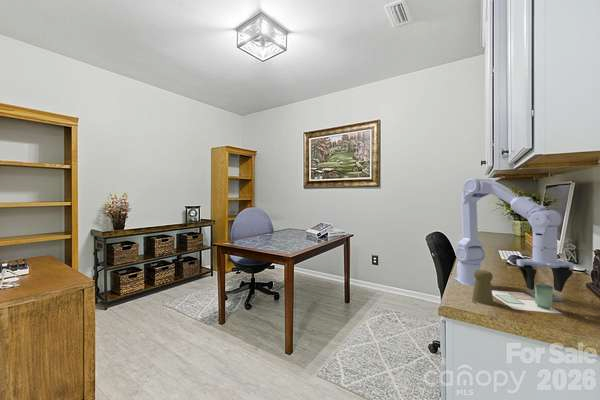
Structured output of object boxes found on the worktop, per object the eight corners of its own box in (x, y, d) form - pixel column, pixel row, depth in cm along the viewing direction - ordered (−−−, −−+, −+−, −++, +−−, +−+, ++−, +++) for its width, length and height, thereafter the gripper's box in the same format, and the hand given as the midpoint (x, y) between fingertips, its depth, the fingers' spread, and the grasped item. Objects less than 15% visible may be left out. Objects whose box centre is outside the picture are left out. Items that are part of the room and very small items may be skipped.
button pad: (525, 294, 95) (525, 289, 95) (547, 295, 94) (547, 290, 94) (539, 301, 88) (539, 295, 88) (563, 303, 87) (563, 297, 87)
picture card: (484, 291, 98) (484, 289, 98) (523, 294, 95) (523, 292, 95) (513, 310, 80) (513, 308, 80) (562, 315, 77) (562, 313, 77)
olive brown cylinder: (484, 307, 82) (484, 273, 82) (467, 300, 88) (468, 268, 88) (498, 305, 84) (499, 272, 84) (480, 298, 90) (481, 267, 90)
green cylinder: (531, 304, 84) (531, 283, 84) (546, 305, 83) (546, 284, 83) (540, 309, 80) (541, 287, 80) (555, 310, 79) (556, 288, 79)
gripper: (526, 248, 79) (526, 291, 79) (582, 251, 76) (582, 296, 76) (512, 244, 86) (512, 284, 86) (563, 247, 83) (562, 288, 83)
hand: (543, 289), depth 82 cm, fingers open, 7 cm apart
